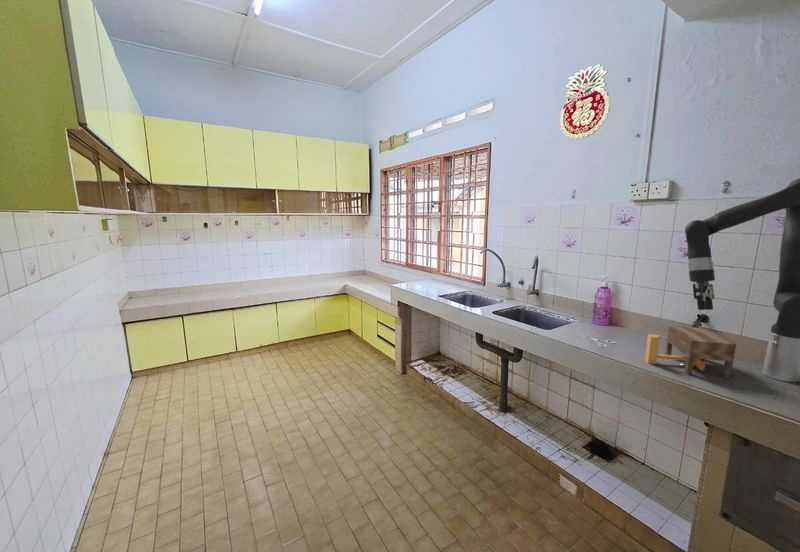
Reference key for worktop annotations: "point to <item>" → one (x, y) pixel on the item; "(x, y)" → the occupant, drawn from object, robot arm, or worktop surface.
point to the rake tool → (653, 350)
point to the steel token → (683, 364)
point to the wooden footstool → (701, 346)
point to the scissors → (600, 340)
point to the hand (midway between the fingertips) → (705, 309)
